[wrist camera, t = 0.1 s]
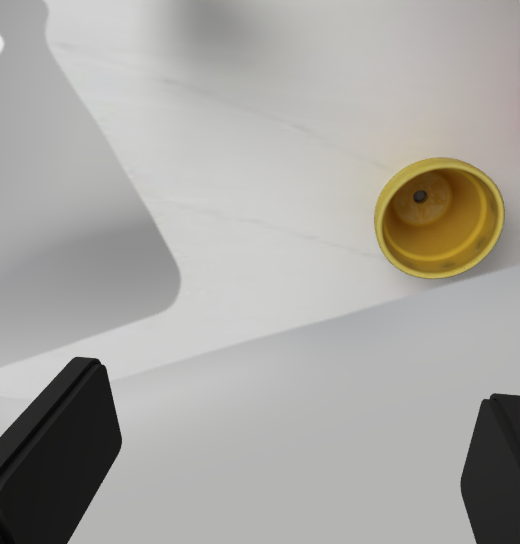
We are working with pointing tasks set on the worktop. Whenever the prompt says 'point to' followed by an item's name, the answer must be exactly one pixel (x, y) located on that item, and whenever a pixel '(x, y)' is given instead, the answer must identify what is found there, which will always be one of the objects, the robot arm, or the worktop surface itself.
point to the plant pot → (438, 218)
